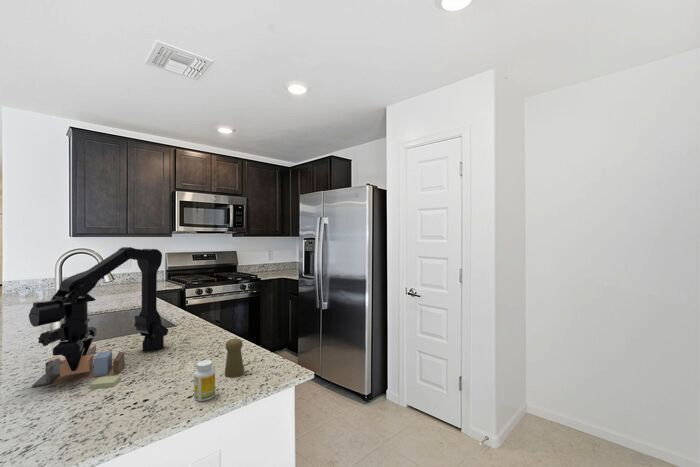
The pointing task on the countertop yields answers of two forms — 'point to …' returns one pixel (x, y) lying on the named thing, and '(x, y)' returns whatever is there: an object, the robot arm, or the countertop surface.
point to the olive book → (105, 382)
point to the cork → (234, 358)
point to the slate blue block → (102, 363)
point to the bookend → (49, 374)
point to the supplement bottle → (204, 381)
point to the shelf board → (91, 372)
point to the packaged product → (62, 358)
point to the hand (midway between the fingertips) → (77, 367)
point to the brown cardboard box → (83, 366)
